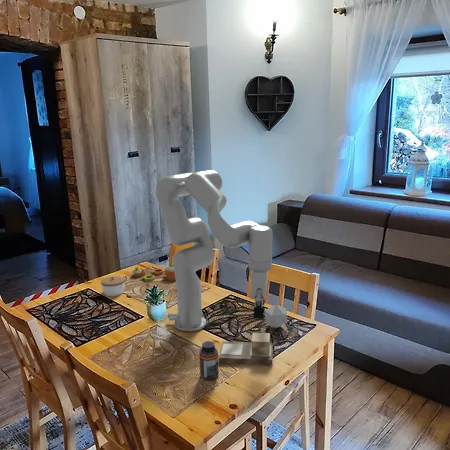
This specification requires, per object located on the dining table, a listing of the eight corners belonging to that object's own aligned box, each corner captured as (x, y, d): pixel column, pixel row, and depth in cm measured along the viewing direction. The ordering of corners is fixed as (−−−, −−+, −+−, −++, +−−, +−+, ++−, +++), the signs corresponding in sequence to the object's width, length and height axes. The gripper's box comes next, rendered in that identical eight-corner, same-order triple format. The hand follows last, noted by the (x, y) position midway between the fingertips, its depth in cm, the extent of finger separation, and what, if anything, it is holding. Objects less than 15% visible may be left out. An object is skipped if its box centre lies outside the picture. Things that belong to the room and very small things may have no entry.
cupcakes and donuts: (182, 273, 234) (181, 256, 232) (184, 283, 220) (183, 265, 217) (133, 277, 231) (131, 259, 228) (131, 288, 216) (130, 269, 213)
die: (286, 334, 166) (286, 309, 164) (263, 332, 168) (263, 308, 166) (288, 323, 174) (288, 300, 172) (265, 322, 176) (265, 299, 174)
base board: (218, 362, 148) (218, 357, 147) (222, 346, 159) (222, 340, 158) (272, 365, 146) (272, 359, 145) (272, 348, 156) (272, 342, 156)
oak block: (251, 354, 149) (251, 341, 147) (252, 345, 154) (252, 332, 153) (269, 355, 148) (269, 341, 147) (269, 346, 154) (269, 333, 152)
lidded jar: (107, 290, 212) (106, 272, 210) (129, 291, 211) (127, 273, 209) (98, 299, 202) (96, 280, 200) (120, 300, 201) (119, 281, 198)
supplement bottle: (200, 370, 144) (198, 339, 141) (218, 369, 144) (217, 338, 141) (200, 381, 138) (199, 349, 135) (219, 380, 138) (218, 348, 136)
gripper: (250, 254, 152) (249, 299, 157) (246, 272, 136) (246, 322, 140) (272, 255, 151) (270, 300, 156) (271, 273, 135) (269, 324, 139)
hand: (259, 311), depth 148 cm, fingers open, 9 cm apart
